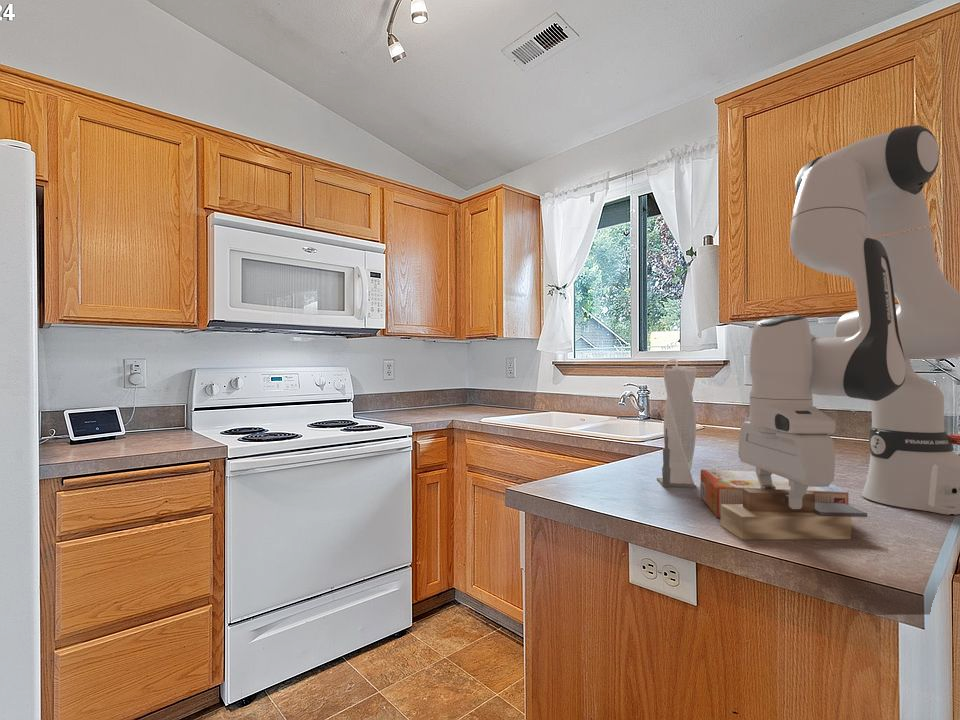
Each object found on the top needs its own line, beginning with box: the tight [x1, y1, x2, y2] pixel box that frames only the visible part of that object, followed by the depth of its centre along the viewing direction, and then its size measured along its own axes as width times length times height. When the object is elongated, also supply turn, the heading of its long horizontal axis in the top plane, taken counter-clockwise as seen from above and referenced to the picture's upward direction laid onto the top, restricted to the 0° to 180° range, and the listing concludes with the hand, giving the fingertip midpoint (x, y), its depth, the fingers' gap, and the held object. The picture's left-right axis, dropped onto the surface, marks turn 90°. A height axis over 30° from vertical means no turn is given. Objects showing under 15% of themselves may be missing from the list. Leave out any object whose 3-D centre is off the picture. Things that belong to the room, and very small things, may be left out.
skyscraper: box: [656, 359, 698, 489], centre depth 118 cm, size 8×8×28 cm
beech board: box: [720, 504, 852, 540], centre depth 84 cm, size 17×7×4 cm, turn 91°
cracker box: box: [699, 469, 849, 519], centre depth 96 cm, size 14×6×21 cm
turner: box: [743, 489, 868, 518], centre depth 84 cm, size 17×6×3 cm, turn 86°
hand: (780, 501), depth 84 cm, fingers open, 5 cm apart
